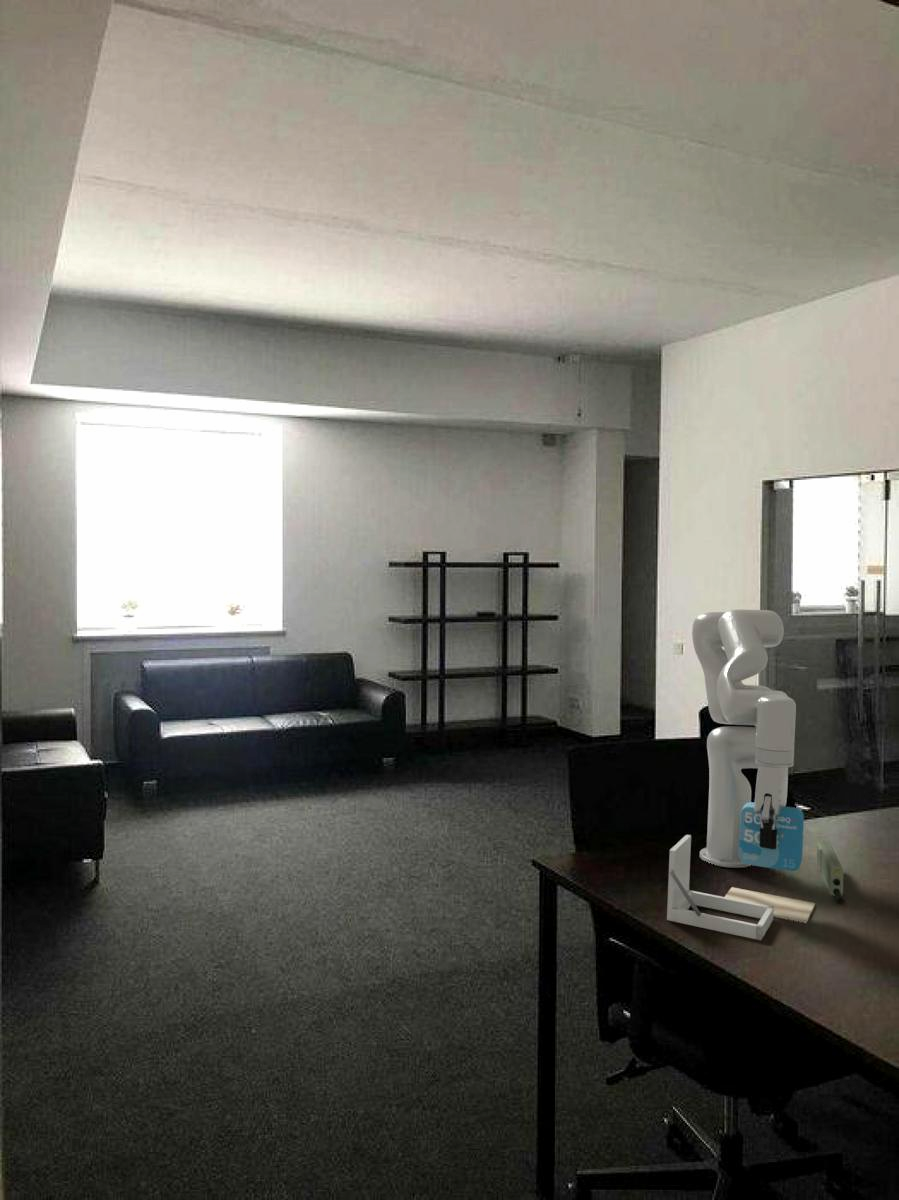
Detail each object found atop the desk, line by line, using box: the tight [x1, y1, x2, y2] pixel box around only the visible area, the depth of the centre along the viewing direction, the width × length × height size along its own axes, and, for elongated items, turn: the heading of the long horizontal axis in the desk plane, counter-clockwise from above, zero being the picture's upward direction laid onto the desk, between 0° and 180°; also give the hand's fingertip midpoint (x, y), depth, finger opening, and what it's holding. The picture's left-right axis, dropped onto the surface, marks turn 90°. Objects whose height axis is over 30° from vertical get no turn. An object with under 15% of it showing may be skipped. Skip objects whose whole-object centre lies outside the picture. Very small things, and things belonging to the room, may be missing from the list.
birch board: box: [724, 886, 816, 924], centre depth 198 cm, size 11×17×1 cm, turn 61°
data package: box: [739, 801, 805, 872], centre depth 197 cm, size 12×4×12 cm, turn 66°
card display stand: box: [666, 834, 774, 941], centre depth 189 cm, size 13×18×14 cm
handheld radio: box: [816, 839, 845, 904], centre depth 211 cm, size 7×3×25 cm
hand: (770, 843), depth 197 cm, fingers closed on data package, 4 cm apart
